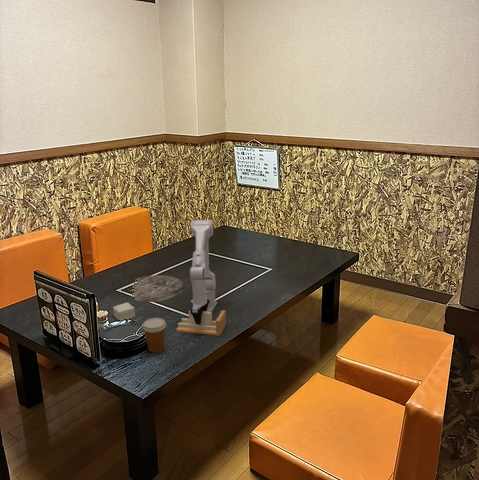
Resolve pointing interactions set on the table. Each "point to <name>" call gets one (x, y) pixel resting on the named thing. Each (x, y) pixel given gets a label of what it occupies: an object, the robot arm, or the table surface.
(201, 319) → the door panel
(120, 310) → the small box
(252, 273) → the table surface
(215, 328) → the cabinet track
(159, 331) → the disposable coffee cup
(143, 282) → the grey fur rug
